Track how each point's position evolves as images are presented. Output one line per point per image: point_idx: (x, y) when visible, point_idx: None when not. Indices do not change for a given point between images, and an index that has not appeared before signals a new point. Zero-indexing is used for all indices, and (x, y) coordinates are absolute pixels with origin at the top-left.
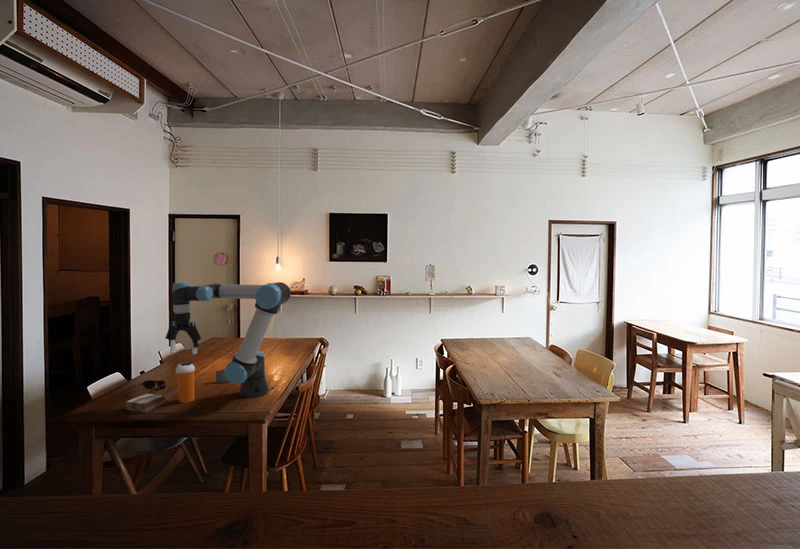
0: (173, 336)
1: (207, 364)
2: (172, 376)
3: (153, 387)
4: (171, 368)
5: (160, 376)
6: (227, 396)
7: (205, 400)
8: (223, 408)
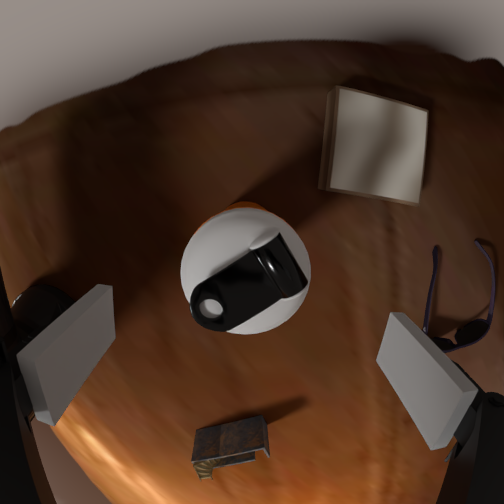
0: (465, 458)
1: (386, 498)
2: None
3: (456, 332)
4: None
5: None
6: None
7: (164, 241)
8: (51, 176)
